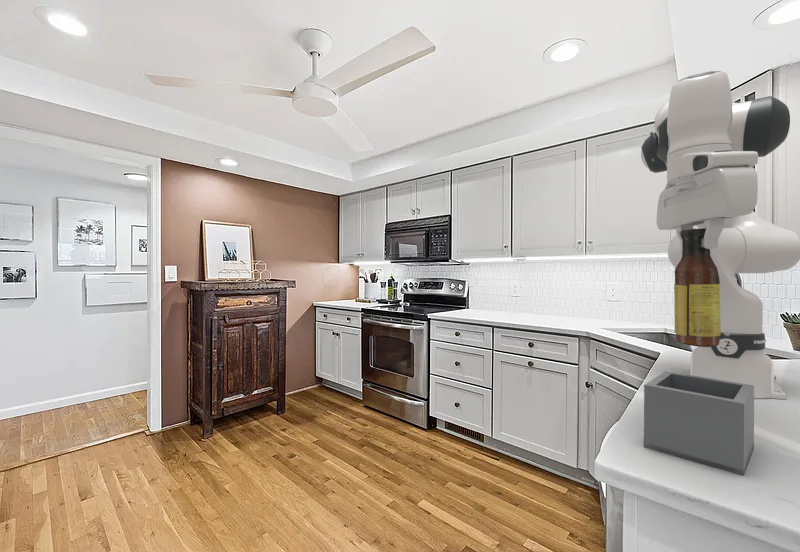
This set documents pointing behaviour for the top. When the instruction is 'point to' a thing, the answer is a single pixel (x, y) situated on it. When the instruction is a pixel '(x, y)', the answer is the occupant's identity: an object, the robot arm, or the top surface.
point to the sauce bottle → (696, 294)
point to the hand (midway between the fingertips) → (698, 250)
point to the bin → (700, 420)
